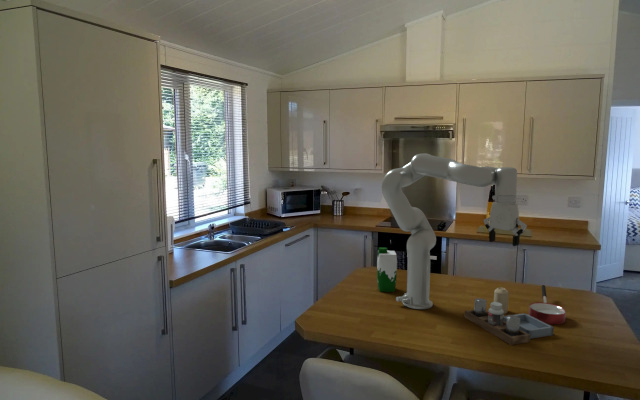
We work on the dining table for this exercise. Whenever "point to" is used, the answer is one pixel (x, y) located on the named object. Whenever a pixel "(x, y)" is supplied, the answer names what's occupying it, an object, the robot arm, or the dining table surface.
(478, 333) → the dining table surface
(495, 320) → the pill bottle
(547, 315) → the frying pan
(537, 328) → the tray
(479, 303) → the peg
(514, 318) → the peg
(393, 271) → the milk carton
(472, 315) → the socket rack
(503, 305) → the candle
